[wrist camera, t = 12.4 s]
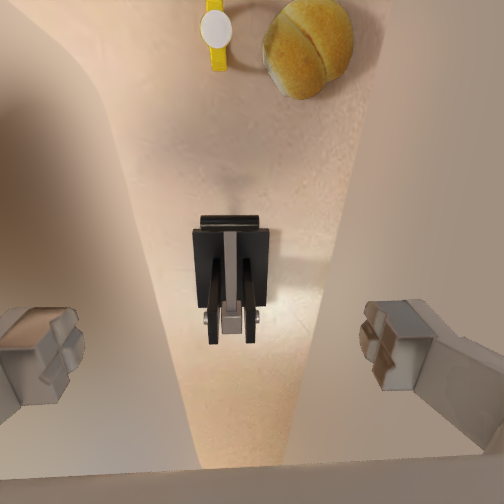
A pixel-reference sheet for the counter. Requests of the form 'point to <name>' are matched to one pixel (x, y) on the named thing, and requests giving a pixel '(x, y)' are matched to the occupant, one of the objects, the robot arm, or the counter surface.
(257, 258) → the bracket
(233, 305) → the lever
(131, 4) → the counter surface
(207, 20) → the watch
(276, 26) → the bread roll
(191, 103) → the counter surface
